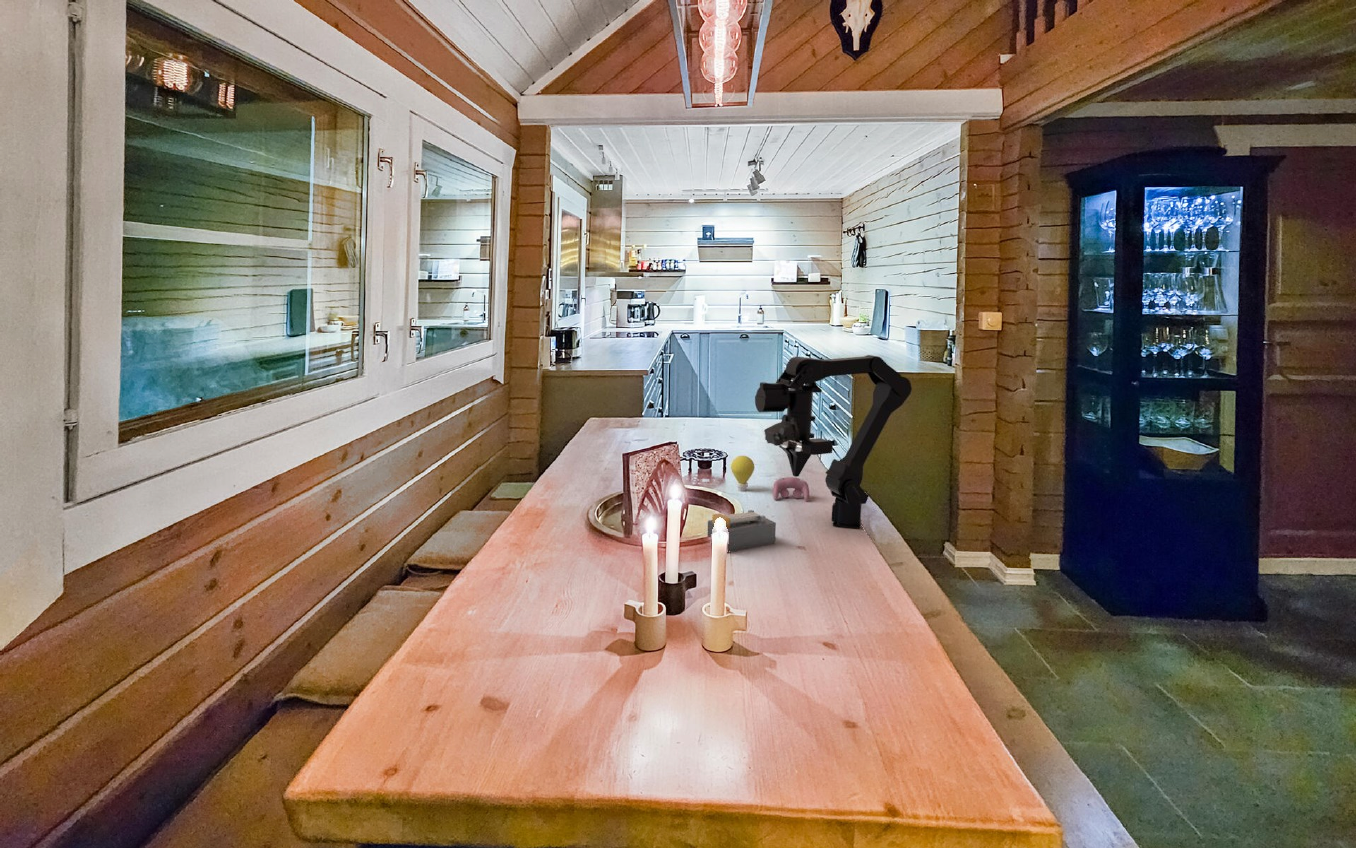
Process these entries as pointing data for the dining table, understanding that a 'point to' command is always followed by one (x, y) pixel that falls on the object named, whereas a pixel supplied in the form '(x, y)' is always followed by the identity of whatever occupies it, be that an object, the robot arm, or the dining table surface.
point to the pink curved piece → (791, 482)
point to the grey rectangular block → (747, 532)
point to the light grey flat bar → (743, 517)
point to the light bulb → (742, 471)
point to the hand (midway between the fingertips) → (795, 476)
